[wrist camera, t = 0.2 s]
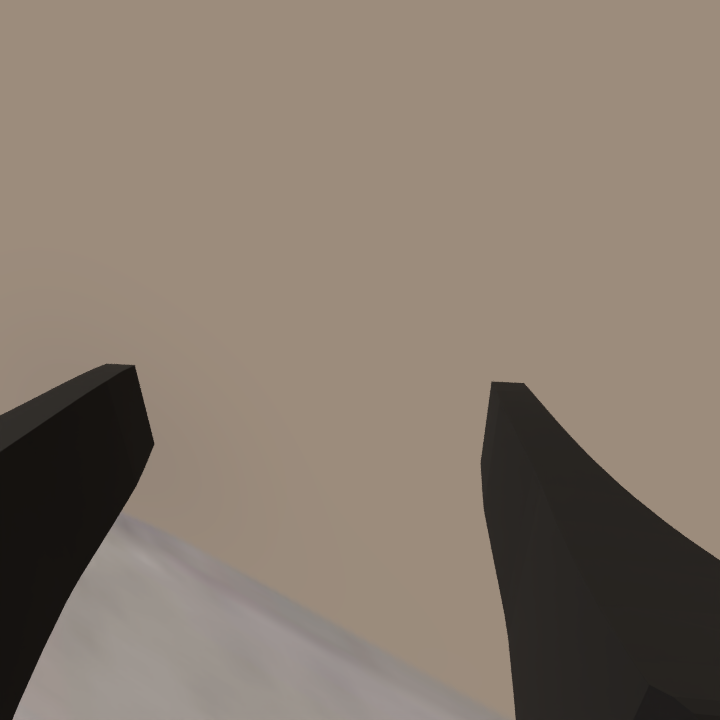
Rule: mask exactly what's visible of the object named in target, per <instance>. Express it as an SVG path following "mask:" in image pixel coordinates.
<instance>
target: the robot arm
mask: <svg viewBox="0 0 720 720" xmlns="http://www.w3.org/2000/svg"><path fill="white" fill-rule="evenodd" d="M153 446H154V440H153V437H152V432H151V428H150V424H149V420H148V416H147V412H146V408H145V404H144V400H143V396H142V392H141V388H140V384H139V381H138V376H137V372H136V369H135V365H120V364H105V365H102V366H100V367H97V368H95V369H92V370H90V371H88V372H86V373H83V374H82V375H79V376H77V377H75V378H73V379H71V380H69V381H67V382H65V383H63V384H61V385H59V386H57V387H55V388H53V389H51V390H49V391H48V392H46V393H44V394H42V395H40V396H38V397H36V398H34V399H32V400H30V401H28V402H26V403H24V404H22V405H20V406H18V407H16V408H14V409H12V410H10V411H8V412H6V413H4V414H2V415H0V720H12V719H13V717H14V714H15V712H16V709H17V707H18V705H19V702H20V700H21V698H22V695H23V693H24V691H25V689H26V687H27V684H28V682H29V680H30V678H31V675H32V673H33V671H34V669H35V667H36V664H37V662H38V660H39V658H40V655H41V653H42V651H43V649H44V647H45V645H46V643H47V641H48V638H49V636H50V634H51V632H52V630H53V628H54V626H55V624H56V622H57V620H58V618H59V616H60V614H61V612H62V610H63V608H64V606H65V604H66V602H67V600H68V598H69V596H70V594H71V593H72V591H73V589H74V587H75V585H76V584H77V582H78V580H79V578H80V577H81V575H82V574H83V572H84V570H85V569H86V567H87V566H88V564H89V562H90V561H91V559H92V557H93V556H94V554H95V553H96V551H97V549H98V548H99V546H100V545H101V543H102V541H103V540H104V538H105V537H106V535H107V533H108V532H109V530H110V529H111V527H112V525H113V524H114V522H115V521H116V519H117V517H118V516H119V514H120V512H121V511H122V509H123V507H124V506H125V504H126V502H127V501H128V499H129V497H130V496H131V494H132V492H133V491H134V489H135V487H136V485H137V483H138V481H139V479H140V477H141V475H142V472H143V470H144V468H145V465H146V463H147V461H148V458H149V456H150V453H151V451H152V448H153ZM481 476H482V492H483V505H484V512H485V518H486V523H487V528H488V533H489V538H490V543H491V549H492V553H493V559H494V564H495V569H496V574H497V579H498V584H499V589H500V594H501V599H502V604H503V609H504V614H505V621H506V627H507V633H508V640H509V651H510V662H511V672H512V681H513V692H514V704H515V715H516V720H720V560H719V559H717V558H715V557H714V556H713V555H711V554H710V553H708V552H707V551H705V550H704V549H702V548H701V547H699V546H698V545H697V544H695V543H694V542H692V541H691V540H689V539H688V538H687V537H685V536H684V535H682V534H681V533H680V532H678V531H677V530H675V529H674V528H673V527H672V526H670V525H669V524H668V523H666V522H665V521H664V520H662V519H661V518H660V517H659V516H657V515H656V514H655V513H654V512H652V511H651V510H650V509H649V508H647V507H646V506H645V505H644V504H642V503H641V502H640V501H639V500H637V499H636V498H635V497H634V496H632V495H631V494H630V493H629V492H628V491H627V490H626V489H624V488H623V487H622V486H621V485H620V484H619V483H618V482H617V481H615V480H614V479H613V478H612V477H611V476H610V475H609V474H608V473H607V472H606V471H605V470H604V469H602V467H600V466H599V465H598V464H597V463H596V462H595V461H594V460H593V459H592V458H591V457H590V456H589V455H588V454H587V453H586V452H585V451H584V450H583V449H582V448H581V447H580V446H579V445H578V444H577V443H576V441H575V440H574V439H573V438H572V437H571V436H570V435H569V434H568V433H567V432H566V431H565V430H564V429H563V427H562V426H561V425H560V424H559V423H558V422H557V421H556V420H555V418H554V417H553V416H552V415H551V414H550V413H549V412H548V410H547V409H546V408H545V407H544V406H543V405H542V403H541V402H540V401H539V400H538V399H537V398H536V396H535V395H534V394H533V393H532V392H531V391H530V389H529V388H528V387H527V386H526V385H525V384H524V383H509V382H492V383H491V390H490V398H489V406H488V413H487V420H486V427H485V435H484V442H483V450H482V457H481Z"/></svg>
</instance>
